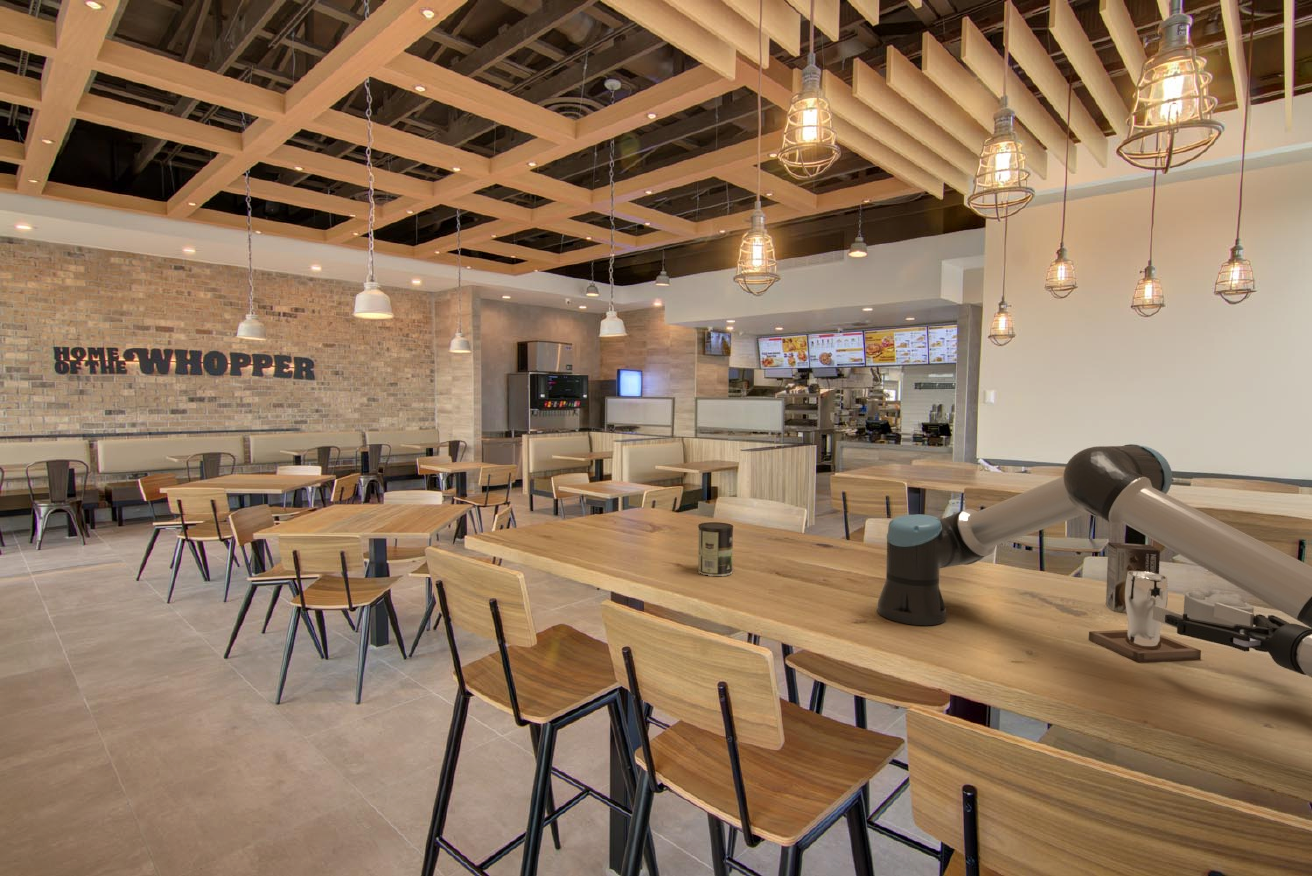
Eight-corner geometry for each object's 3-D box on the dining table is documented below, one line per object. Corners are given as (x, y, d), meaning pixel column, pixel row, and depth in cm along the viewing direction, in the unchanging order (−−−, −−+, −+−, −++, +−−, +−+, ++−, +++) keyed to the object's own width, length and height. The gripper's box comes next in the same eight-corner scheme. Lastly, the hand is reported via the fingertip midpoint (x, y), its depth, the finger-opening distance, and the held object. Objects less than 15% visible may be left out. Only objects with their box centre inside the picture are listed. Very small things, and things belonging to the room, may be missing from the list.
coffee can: (730, 567, 192) (731, 522, 191) (734, 577, 182) (735, 528, 181) (696, 567, 192) (697, 521, 191) (698, 576, 182) (699, 528, 181)
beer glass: (1149, 640, 134) (1153, 571, 133) (1173, 653, 127) (1177, 580, 126) (1114, 639, 135) (1118, 569, 134) (1135, 651, 128) (1140, 578, 127)
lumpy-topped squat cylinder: (1201, 637, 138) (1204, 598, 138) (1171, 618, 151) (1173, 582, 150) (1259, 642, 136) (1262, 603, 135) (1224, 622, 148) (1226, 586, 148)
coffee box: (1147, 608, 158) (1150, 544, 157) (1158, 616, 152) (1161, 549, 151) (1104, 603, 161) (1107, 541, 160) (1113, 611, 155) (1116, 546, 154)
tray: (1138, 662, 124) (1138, 653, 124) (1088, 639, 136) (1089, 631, 136) (1200, 659, 126) (1201, 650, 126) (1146, 637, 138) (1146, 628, 138)
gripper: (1245, 680, 99) (1127, 632, 120) (1377, 672, 103) (1239, 627, 124) (1248, 633, 99) (1129, 593, 120) (1380, 627, 103) (1242, 589, 124)
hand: (1185, 610), depth 122 cm, fingers open, 13 cm apart
